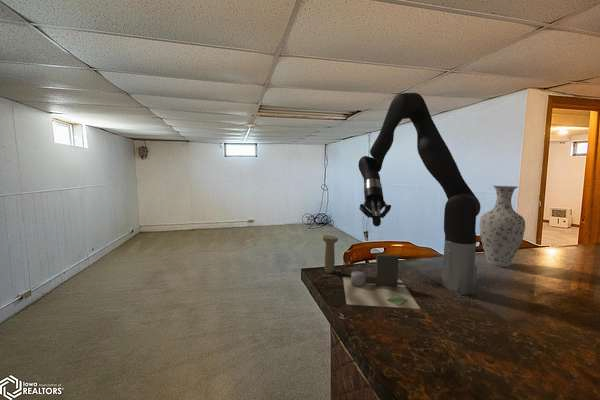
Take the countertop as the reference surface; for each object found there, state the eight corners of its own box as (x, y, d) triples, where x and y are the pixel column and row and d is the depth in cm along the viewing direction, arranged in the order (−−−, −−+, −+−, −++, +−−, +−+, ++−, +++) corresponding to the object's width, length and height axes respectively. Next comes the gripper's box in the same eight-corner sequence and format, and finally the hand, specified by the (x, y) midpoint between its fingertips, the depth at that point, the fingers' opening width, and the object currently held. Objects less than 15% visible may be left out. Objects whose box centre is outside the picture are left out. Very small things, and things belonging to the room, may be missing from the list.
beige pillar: (329, 278, 102) (330, 239, 100) (319, 272, 107) (320, 236, 106) (339, 276, 104) (340, 238, 103) (329, 270, 110) (330, 234, 108)
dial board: (400, 283, 98) (400, 279, 98) (420, 312, 77) (420, 308, 77) (342, 280, 100) (342, 276, 100) (346, 308, 80) (346, 303, 79)
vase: (518, 262, 122) (526, 186, 119) (524, 273, 109) (533, 187, 105) (476, 256, 131) (482, 184, 127) (476, 266, 117) (483, 186, 114)
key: (351, 286, 92) (352, 256, 90) (350, 280, 97) (351, 251, 95) (410, 289, 90) (412, 258, 88) (406, 283, 94) (408, 254, 93)
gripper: (358, 185, 112) (360, 219, 102) (390, 185, 111) (396, 220, 100) (356, 196, 118) (358, 230, 107) (387, 197, 117) (392, 231, 106)
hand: (377, 225), depth 104 cm, fingers closed
